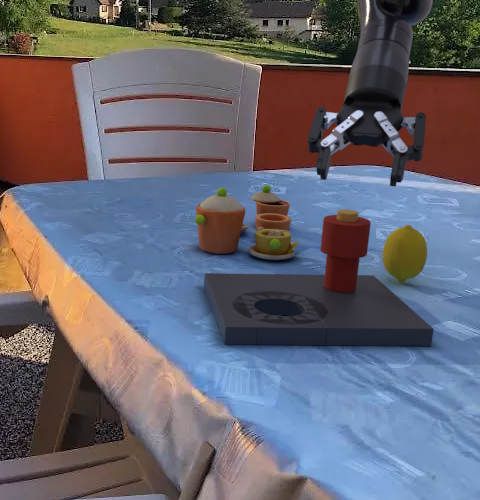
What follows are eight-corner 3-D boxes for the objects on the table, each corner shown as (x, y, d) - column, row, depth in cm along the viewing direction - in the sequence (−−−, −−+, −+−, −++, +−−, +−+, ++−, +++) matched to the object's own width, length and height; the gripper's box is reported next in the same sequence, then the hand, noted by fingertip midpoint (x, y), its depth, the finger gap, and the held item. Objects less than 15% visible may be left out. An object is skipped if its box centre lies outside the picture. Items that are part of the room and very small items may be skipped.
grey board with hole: (371, 289, 92) (373, 275, 92) (431, 346, 75) (434, 328, 74) (203, 287, 91) (204, 273, 91) (224, 344, 74) (225, 326, 74)
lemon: (400, 291, 92) (408, 231, 89) (370, 278, 97) (377, 221, 94) (432, 286, 94) (440, 228, 92) (401, 274, 99) (408, 218, 97)
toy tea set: (297, 267, 101) (303, 200, 98) (189, 258, 104) (192, 193, 101) (295, 224, 126) (299, 170, 123) (207, 218, 129) (210, 165, 126)
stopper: (354, 280, 89) (362, 207, 87) (369, 295, 84) (378, 217, 81) (311, 280, 89) (319, 206, 86) (324, 294, 84) (332, 216, 81)
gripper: (322, 61, 96) (298, 156, 89) (435, 64, 90) (419, 166, 83) (325, 98, 102) (302, 191, 95) (431, 104, 96) (416, 202, 89)
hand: (357, 179), depth 89 cm, fingers open, 8 cm apart
